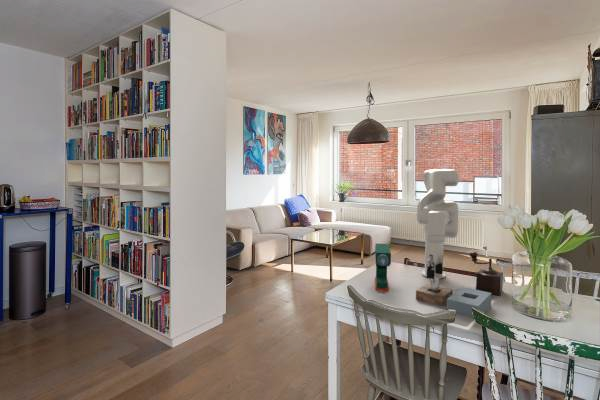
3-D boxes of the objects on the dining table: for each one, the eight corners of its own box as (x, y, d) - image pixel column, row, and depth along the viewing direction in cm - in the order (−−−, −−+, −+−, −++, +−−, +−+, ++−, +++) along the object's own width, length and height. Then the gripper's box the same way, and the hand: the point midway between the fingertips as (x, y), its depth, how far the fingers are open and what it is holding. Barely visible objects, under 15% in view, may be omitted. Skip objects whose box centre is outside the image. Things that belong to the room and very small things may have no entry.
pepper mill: (503, 290, 170) (505, 254, 169) (499, 297, 162) (501, 259, 160) (469, 284, 180) (470, 250, 178) (463, 290, 171) (465, 254, 170)
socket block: (426, 294, 166) (426, 284, 165) (452, 300, 158) (452, 289, 157) (415, 301, 157) (416, 290, 157) (442, 308, 149) (442, 296, 148)
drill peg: (431, 296, 160) (432, 275, 159) (439, 298, 157) (440, 277, 157) (428, 298, 157) (429, 277, 156) (436, 300, 155) (437, 279, 154)
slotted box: (462, 299, 159) (462, 286, 158) (490, 306, 151) (491, 292, 150) (446, 312, 144) (446, 298, 143) (477, 321, 136) (478, 306, 135)
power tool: (391, 301, 157) (392, 258, 156) (375, 300, 159) (376, 257, 157) (388, 279, 188) (388, 243, 187) (374, 278, 190) (375, 243, 188)
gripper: (434, 235, 164) (433, 270, 165) (419, 239, 151) (418, 278, 152) (451, 237, 159) (450, 273, 160) (436, 242, 146) (435, 281, 147)
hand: (434, 275), depth 156 cm, fingers open, 9 cm apart
